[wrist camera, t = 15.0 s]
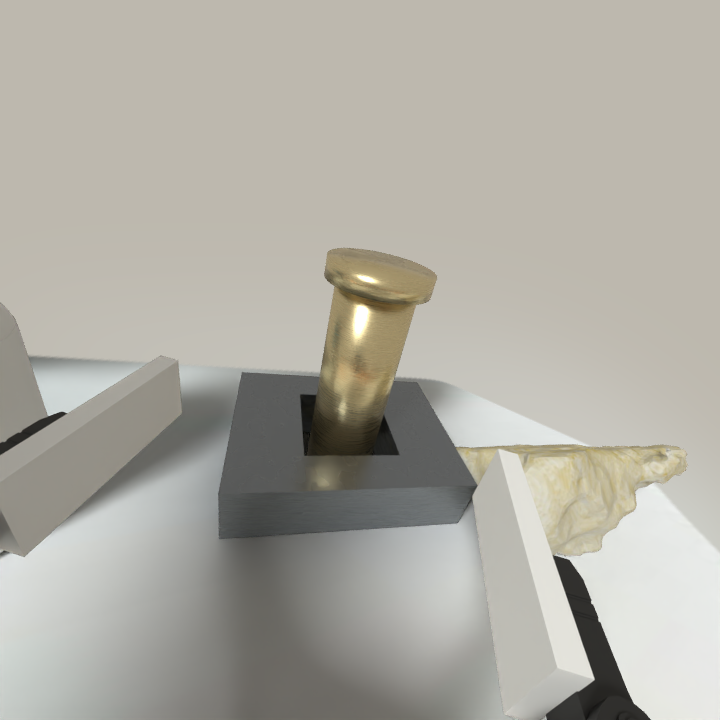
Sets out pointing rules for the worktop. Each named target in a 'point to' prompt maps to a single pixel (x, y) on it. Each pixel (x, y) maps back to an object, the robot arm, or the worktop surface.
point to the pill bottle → (16, 382)
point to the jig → (335, 466)
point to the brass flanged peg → (363, 346)
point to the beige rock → (583, 485)
